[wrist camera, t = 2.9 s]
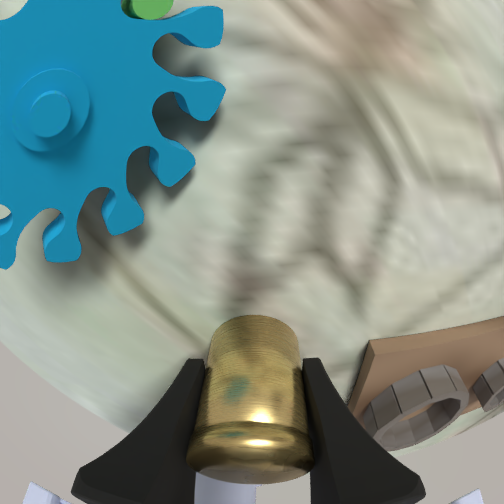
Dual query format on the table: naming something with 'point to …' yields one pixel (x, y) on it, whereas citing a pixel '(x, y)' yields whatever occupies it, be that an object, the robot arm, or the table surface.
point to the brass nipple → (252, 406)
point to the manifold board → (428, 381)
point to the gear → (90, 110)
